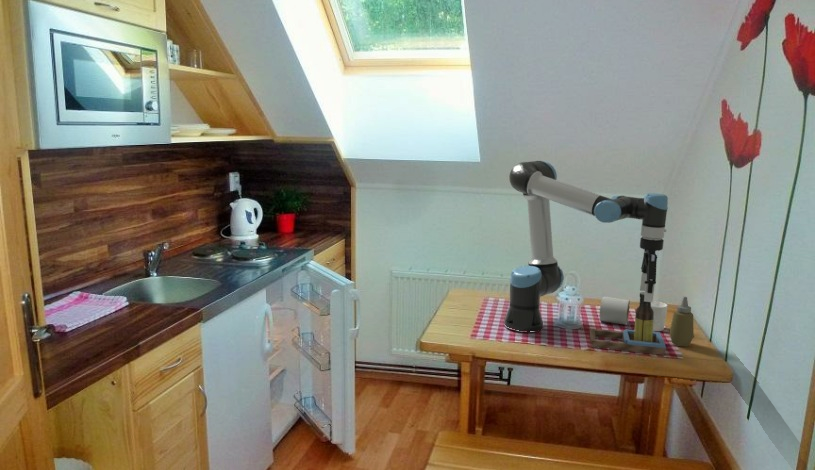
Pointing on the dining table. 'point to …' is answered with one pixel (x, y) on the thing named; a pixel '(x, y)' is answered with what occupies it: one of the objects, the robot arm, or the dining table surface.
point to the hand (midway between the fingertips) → (645, 296)
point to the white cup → (659, 315)
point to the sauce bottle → (644, 321)
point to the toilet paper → (614, 310)
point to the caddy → (627, 341)
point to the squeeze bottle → (682, 325)
